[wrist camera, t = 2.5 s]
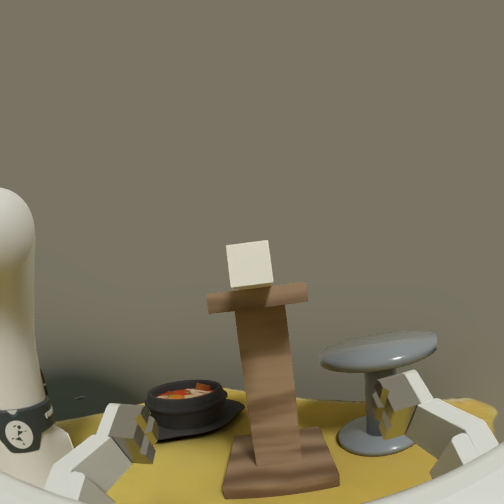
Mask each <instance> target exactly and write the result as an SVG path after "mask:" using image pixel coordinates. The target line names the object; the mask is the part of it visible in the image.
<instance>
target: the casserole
mask: <svg viewBox="0 0 504 504" xmlns="http://www.w3.org/2000/svg"><path fill="white" fill-rule="evenodd" d="M227 396H228V395H227V392H226V391H224V390H223V388H222V386H221V385H220V383H218V382H215V381H210V380H184V381H177V382H171V383H167V384H163V385H160V386H157V387H154V388H152V389H151V390H150V391H149V392H148V397H147V400H146V401H145V406H148V408H149V409H150V411H151V414H150V416H151V417H153V418H154V419H155V420H156V422H157V425H158V430H159V436H158V440H163V439H170V438H175V437H180V436H189V435H196V434H202V433H206V432H210V431H213V430H216V429H218V428H220V427H222V426H224V425H225V424H227V423H228V422H230V421H231V420H232V419H233V418H234V416H235V415H236V414H238V413H239V412H241V411H242V410H243V409H244V408H245V406H244V405H243V404H241V403H240V402H237V401H234V400H229V399H226V398H227Z"/></svg>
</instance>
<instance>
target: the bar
mask: <svg viewBox="0 0 504 504" xmlns="http://www.w3.org/2000/svg"><path fill="white" fill-rule="evenodd" d="M226 249H227V258H228V266H229V274H230V284H231V288H235V289H239V290H245V289H253V288H261V287H269V286H271V285H272V284H273V275H272V268H271V260H270V252H269V246H268V240H265V241H257V242H249V243H242V244H235V245H227V246H226Z"/></svg>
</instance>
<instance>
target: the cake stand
mask: <svg viewBox="0 0 504 504" xmlns="http://www.w3.org/2000/svg"><path fill="white" fill-rule="evenodd" d="M436 349H437V336H436V334H435V333H432V332H428V331H397V332H388V333H380V334H374V335H368V336H363V337H359V338H354V339H349V340H345V341H342V342H339V343H335V344H333V345H330V346H327V347H326V348H324V349H322V350H321V351H320V352H319V359H320V365H321V366H322V367H323V368H325V369H328V370H331V371H336V372H346V373H364V379H365V397H366V415H365V416H362V417H359V418H356V419H354V420H352V421H350V422H349V423H347V424H346V425H344V426H343V427H342V428H341V430H340V432H339V444H340V446H341V447H342V448H343V449H344V450H346V451H348V452H350V453H352V454H355V455H360V456H369V457H375V456H385V455H391V454H395V453H398V452H401V451H403V450H406V449H408V448H409V447H411V446H413V445H414V444H416V443H414V442H413V441H412V440H410V439H409V438H408V437H406V436H405V435H406V434H405V435H402V436H399V437H395V438H392V439H388V440H385V441H384V439H383V437H382V434H381V432H380V429H379V425H380V421H379V420H377V419H376V418H375V416H374V414H373V410H372V402H371V401H372V395H373V394H374V393H375V392H376V390H375V388H374V385H375V382H376V380H378V379H382V378H385V377H389V376H393V375H396V374H397V373H396V368H399V367H403V366H406V365H409V364H412V363H415V362H418V361H420V360H422V359H425V358H426V357H428V356H430V355H431V354H433V353H434V352H435V351H436Z"/></svg>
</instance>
